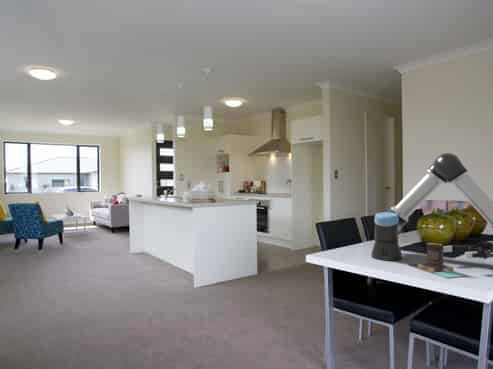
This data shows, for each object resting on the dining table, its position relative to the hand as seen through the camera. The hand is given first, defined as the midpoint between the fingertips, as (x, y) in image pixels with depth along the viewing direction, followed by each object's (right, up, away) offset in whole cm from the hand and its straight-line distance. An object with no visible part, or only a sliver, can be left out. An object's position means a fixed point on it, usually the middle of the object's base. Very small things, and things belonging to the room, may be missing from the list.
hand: (452, 252), depth 159 cm
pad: (-7, -8, -10) cm, 15 cm away
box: (-9, -8, -2) cm, 12 cm away
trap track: (-10, -7, +1) cm, 13 cm away
